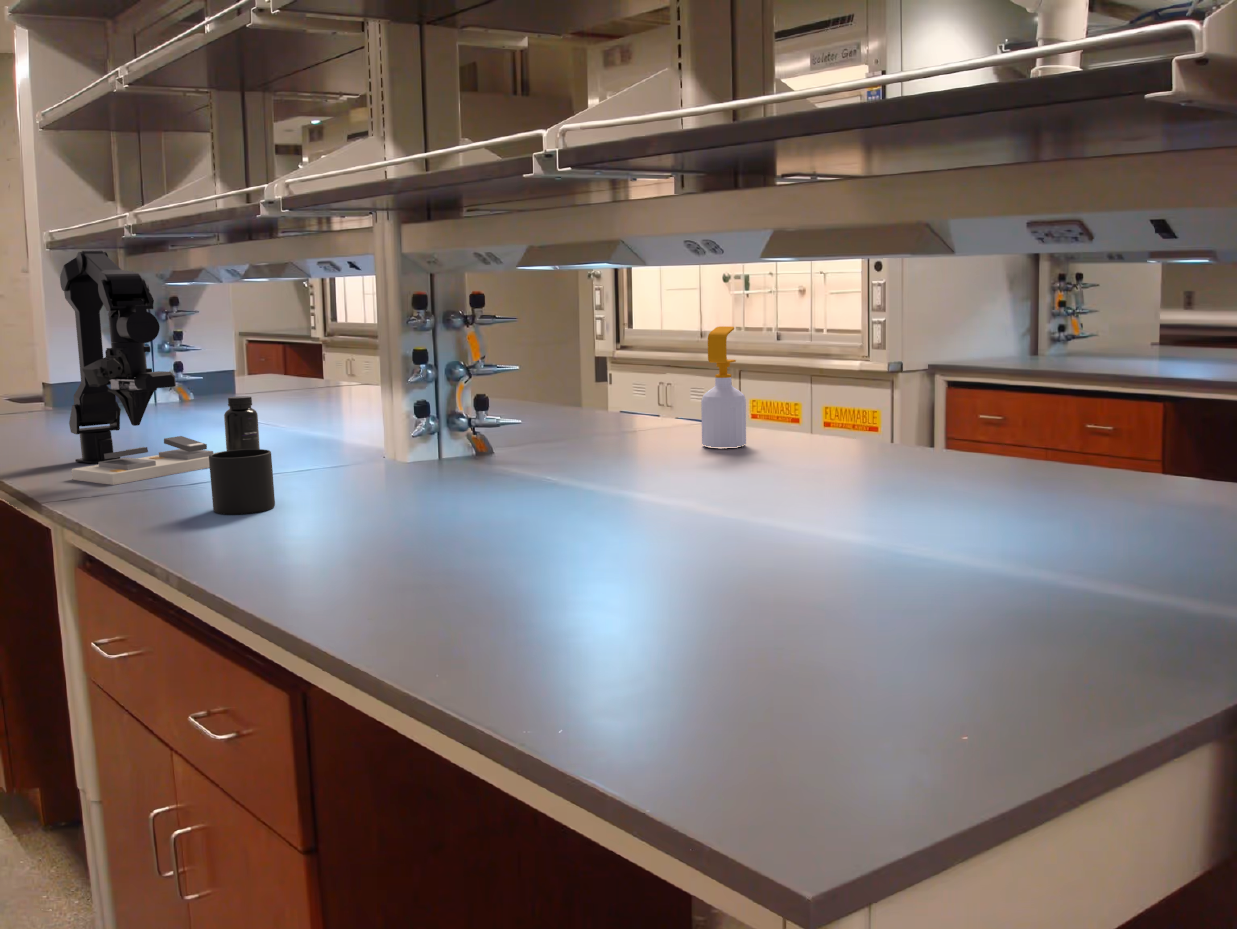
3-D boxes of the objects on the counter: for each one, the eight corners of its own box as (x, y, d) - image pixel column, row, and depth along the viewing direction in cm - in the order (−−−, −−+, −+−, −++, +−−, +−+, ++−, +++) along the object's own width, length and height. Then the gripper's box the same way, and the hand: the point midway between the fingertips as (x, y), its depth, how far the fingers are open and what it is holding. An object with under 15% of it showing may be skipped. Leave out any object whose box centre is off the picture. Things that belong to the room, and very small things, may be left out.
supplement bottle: (254, 455, 239) (249, 398, 237) (222, 455, 239) (217, 399, 237) (264, 450, 246) (260, 394, 244) (233, 450, 246) (229, 395, 244)
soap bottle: (753, 444, 235) (752, 325, 231) (733, 450, 228) (732, 328, 224) (714, 442, 240) (713, 325, 236) (694, 448, 232) (692, 327, 228)
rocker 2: (163, 443, 226) (163, 438, 226) (181, 440, 229) (181, 435, 229) (189, 452, 222) (189, 446, 222) (206, 449, 225) (206, 443, 225)
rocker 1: (104, 459, 215) (103, 453, 215) (123, 456, 219) (122, 450, 219) (129, 455, 211) (127, 449, 211) (148, 452, 214) (147, 446, 214)
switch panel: (72, 479, 213) (70, 464, 213) (186, 460, 234) (185, 446, 234) (113, 485, 206) (111, 469, 206) (227, 464, 227) (226, 450, 227)
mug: (270, 498, 189) (266, 445, 188) (278, 511, 179) (274, 454, 177) (210, 504, 186) (206, 449, 184) (215, 517, 175) (210, 460, 174)
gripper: (57, 344, 208) (66, 428, 210) (118, 344, 198) (127, 433, 200) (112, 340, 217) (120, 421, 220) (173, 341, 207) (181, 425, 210)
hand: (135, 425), depth 212 cm, fingers closed
